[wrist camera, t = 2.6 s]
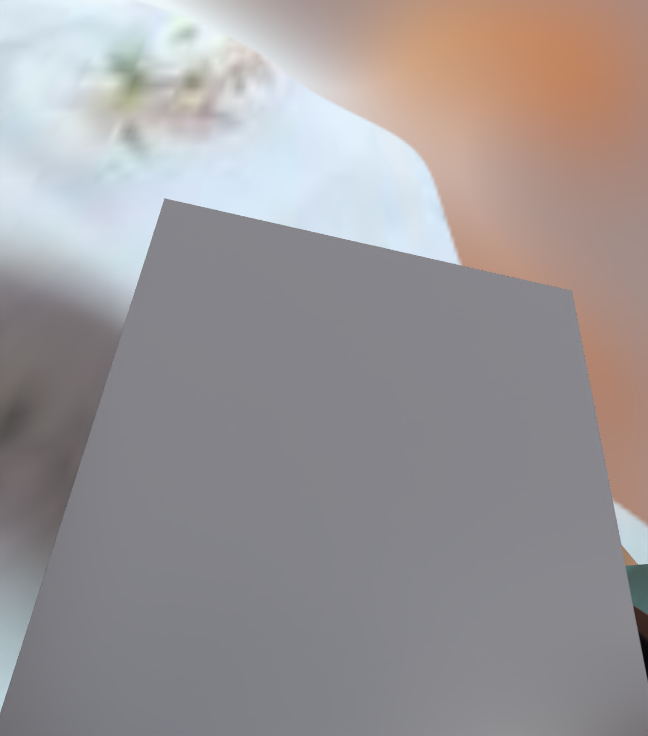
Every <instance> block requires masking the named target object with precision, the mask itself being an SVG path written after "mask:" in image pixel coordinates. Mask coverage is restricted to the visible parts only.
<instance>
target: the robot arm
mask: <svg viewBox="0 0 648 736" xmlns="http://www.w3.org/2000/svg"><path fill="white" fill-rule="evenodd" d="M633 608H634V613H635V619H636V624H637V629H638V634H639V639H640V644H641V650H642V655H643V660H644V665H645V670H646V675H647V681H648V615H647V614H646V613H644V612H643V611H641V610H640V609H638V608H637V607H635V606H634V605H633Z"/></svg>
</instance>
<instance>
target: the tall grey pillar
mask: <svg viewBox="0 0 648 736" xmlns="http://www.w3.org/2000/svg"><path fill="white" fill-rule="evenodd" d="M0 736H648V681H647V675H646V670H645V665H644V660H643V655H642V650H641V644H640V639H639V634H638V629H637V624H636V619H635V613H634V608H633V603H632V598H631V593H630V588H629V582H628V577H627V572H626V567H625V562H624V557H623V551H622V546H621V541H620V536H619V531H618V526H617V520H616V515H615V510H614V505H613V500H612V495H611V490H610V484H609V479H608V474H607V469H606V465H605V459H604V453H603V448H602V443H601V438H600V433H599V428H598V423H597V417H596V412H595V407H594V402H593V397H592V391H591V387H590V381H589V376H588V371H587V366H586V361H585V355H584V351H583V345H582V341H581V335H580V330H579V324H578V319H577V314H576V309H575V304H574V299H573V294H572V291H571V290H567V289H562V288H558V287H553V286H549V285H544V284H540V283H536V282H531V281H527V280H522V279H518V278H514V277H509V276H505V275H500V274H496V273H491V272H487V271H483V270H478V269H473V268H469V267H465V266H461V265H456V264H452V263H447V262H443V261H438V260H434V259H430V258H425V257H421V256H416V255H412V254H408V253H403V252H399V251H394V250H390V249H385V248H381V247H377V246H372V245H368V244H363V243H359V242H355V241H350V240H346V239H341V238H337V237H332V236H328V235H324V234H319V233H315V232H310V231H306V230H302V229H297V228H293V227H288V226H284V225H279V224H275V223H271V222H266V221H262V220H257V219H253V218H249V217H244V216H240V215H235V214H231V213H226V212H222V211H218V210H213V209H209V208H204V207H200V206H195V205H191V204H187V203H182V202H178V201H173V200H169V199H164V202H163V205H162V209H161V212H160V215H159V218H158V221H157V224H156V227H155V230H154V234H153V237H152V240H151V243H150V246H149V249H148V252H147V256H146V259H145V262H144V265H143V268H142V271H141V274H140V277H139V281H138V284H137V287H136V290H135V293H134V296H133V299H132V302H131V306H130V309H129V312H128V315H127V318H126V321H125V324H124V328H123V331H122V334H121V337H120V340H119V343H118V346H117V349H116V353H115V356H114V359H113V362H112V365H111V368H110V371H109V375H108V378H107V381H106V384H105V387H104V390H103V393H102V396H101V400H100V403H99V406H98V409H97V412H96V415H95V418H94V421H93V425H92V428H91V431H90V434H89V437H88V440H87V443H86V447H85V450H84V453H83V456H82V459H81V462H80V465H79V468H78V472H77V475H76V478H75V481H74V484H73V487H72V490H71V493H70V497H69V500H68V503H67V506H66V509H65V512H64V515H63V519H62V522H61V525H60V528H59V531H58V534H57V537H56V540H55V544H54V547H53V550H52V553H51V556H50V559H49V562H48V565H47V569H46V572H45V575H44V578H43V581H42V584H41V587H40V591H39V594H38V597H37V600H36V603H35V606H34V609H33V612H32V616H31V619H30V622H29V625H28V628H27V631H26V634H25V637H24V641H23V644H22V647H21V650H20V653H19V656H18V659H17V663H16V666H15V669H14V672H13V675H12V678H11V681H10V684H9V688H8V691H7V694H6V697H5V700H4V703H3V706H2V709H1V713H0Z"/></svg>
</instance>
